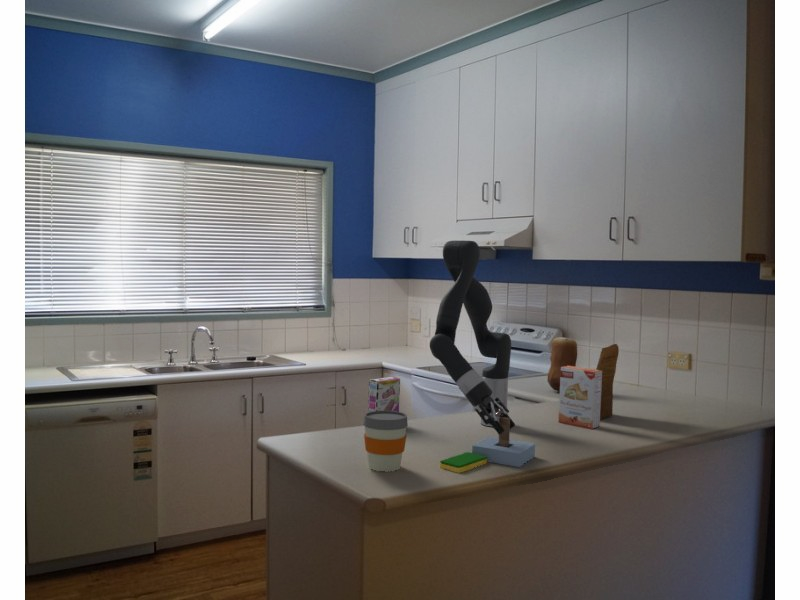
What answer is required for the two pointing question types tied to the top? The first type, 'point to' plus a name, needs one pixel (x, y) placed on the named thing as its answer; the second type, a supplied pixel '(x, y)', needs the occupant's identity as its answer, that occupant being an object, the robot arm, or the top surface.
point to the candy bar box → (384, 394)
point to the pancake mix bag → (607, 378)
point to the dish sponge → (463, 462)
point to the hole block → (505, 451)
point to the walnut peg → (505, 435)
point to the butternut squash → (561, 359)
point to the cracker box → (580, 396)
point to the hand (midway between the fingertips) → (507, 429)
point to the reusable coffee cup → (385, 439)
